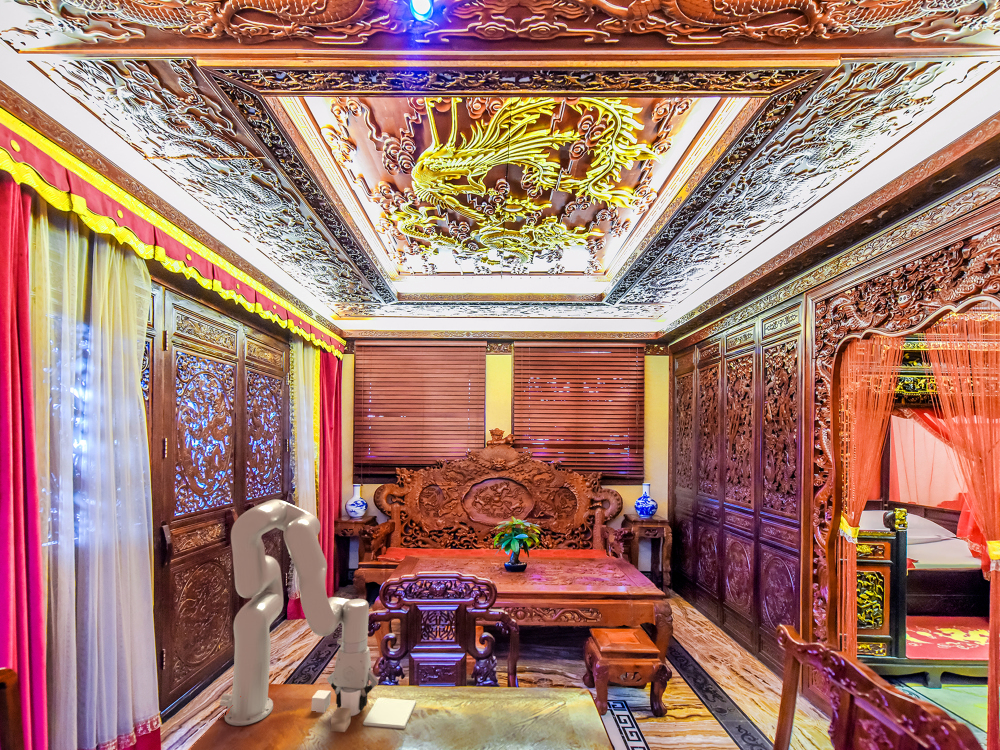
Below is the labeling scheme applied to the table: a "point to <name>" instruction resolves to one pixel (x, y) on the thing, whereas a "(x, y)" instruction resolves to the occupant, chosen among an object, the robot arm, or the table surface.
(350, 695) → the white rounded piece
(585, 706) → the table surface
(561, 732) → the table surface
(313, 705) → the off-white plastic block
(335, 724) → the birch block
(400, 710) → the cream pad
